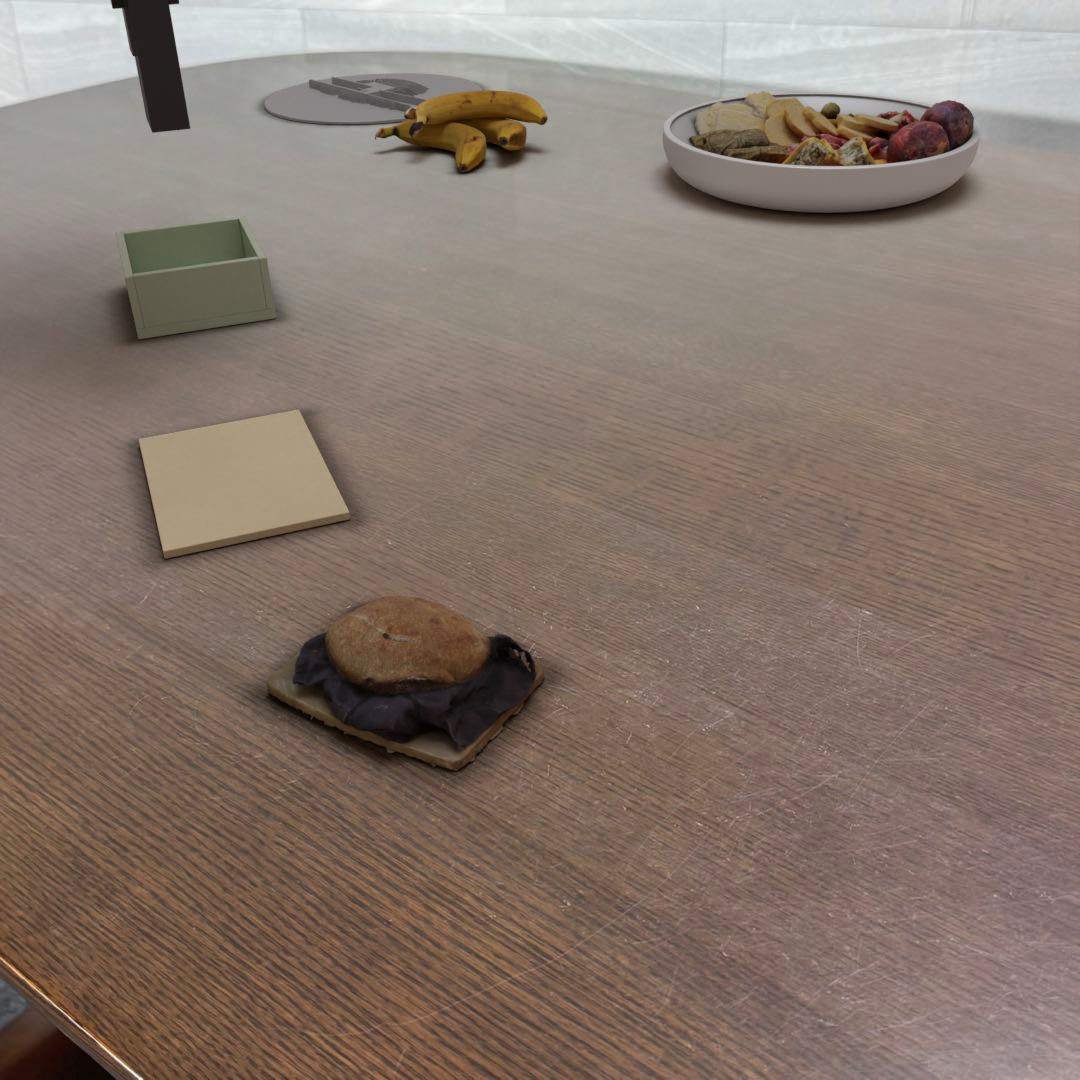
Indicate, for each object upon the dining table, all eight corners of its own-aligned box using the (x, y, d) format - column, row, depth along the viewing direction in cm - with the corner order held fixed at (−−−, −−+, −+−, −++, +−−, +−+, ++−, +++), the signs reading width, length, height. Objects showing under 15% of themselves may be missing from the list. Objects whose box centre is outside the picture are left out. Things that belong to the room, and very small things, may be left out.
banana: (384, 138, 138) (379, 86, 135) (550, 135, 137) (548, 82, 134) (363, 175, 125) (357, 118, 122) (546, 171, 124) (545, 114, 121)
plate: (225, 99, 157) (224, 90, 157) (402, 67, 172) (401, 58, 171) (339, 137, 139) (338, 126, 138) (526, 96, 154) (526, 86, 153)
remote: (148, 133, 77) (107, -77, 70) (142, 119, 80) (103, -83, 73) (190, 128, 77) (154, -80, 71) (183, 115, 81) (148, -85, 74)
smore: (254, 702, 53) (240, 635, 51) (372, 605, 59) (364, 542, 57) (451, 785, 48) (443, 715, 46) (558, 670, 54) (555, 604, 52)
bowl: (630, 212, 111) (631, 125, 107) (693, 133, 135) (696, 59, 131) (970, 234, 103) (985, 141, 99) (972, 146, 127) (985, 68, 123)
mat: (350, 519, 66) (349, 511, 66) (164, 559, 63) (162, 551, 63) (299, 416, 77) (298, 408, 77) (139, 445, 74) (138, 438, 74)
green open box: (138, 339, 89) (124, 277, 86) (128, 290, 98) (115, 232, 95) (276, 318, 92) (266, 257, 89) (254, 272, 101) (244, 215, 98)
